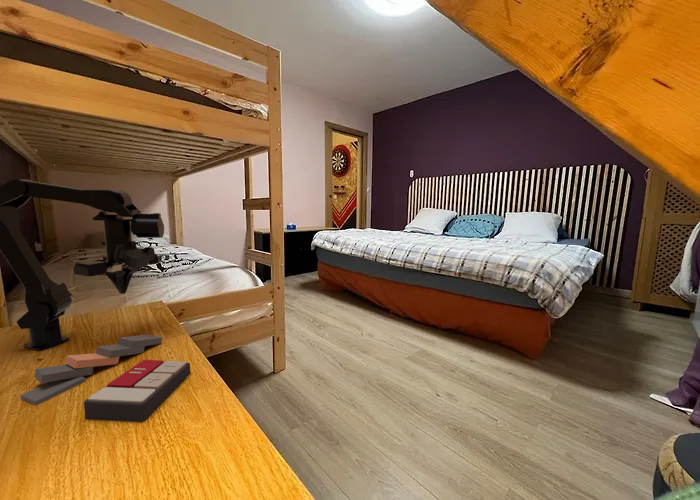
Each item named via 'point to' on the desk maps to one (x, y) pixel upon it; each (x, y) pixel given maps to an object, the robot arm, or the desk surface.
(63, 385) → the domino
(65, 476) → the desk surface
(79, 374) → the domino
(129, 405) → the calculator
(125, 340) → the domino
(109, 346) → the domino
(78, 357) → the domino
